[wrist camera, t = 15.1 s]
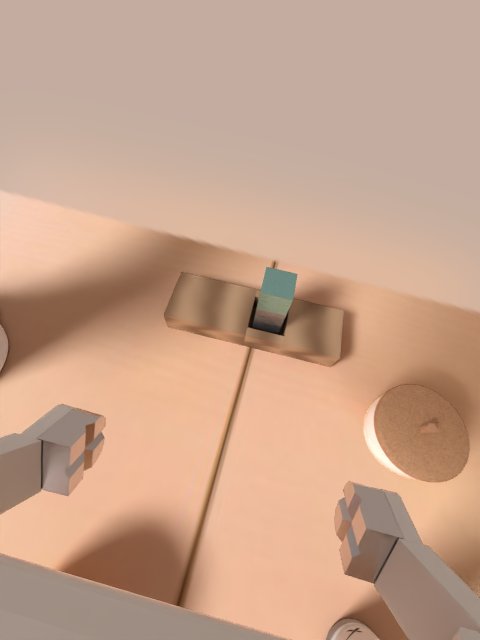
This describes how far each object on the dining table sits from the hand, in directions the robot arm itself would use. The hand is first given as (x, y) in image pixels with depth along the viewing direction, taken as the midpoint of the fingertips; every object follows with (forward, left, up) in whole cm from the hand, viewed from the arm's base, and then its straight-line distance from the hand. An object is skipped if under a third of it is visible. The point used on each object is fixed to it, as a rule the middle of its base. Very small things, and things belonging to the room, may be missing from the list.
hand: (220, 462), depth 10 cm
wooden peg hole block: (0, +21, -31) cm, 38 cm away
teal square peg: (+2, +21, -31) cm, 38 cm away
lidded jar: (+22, +9, -32) cm, 40 cm away
